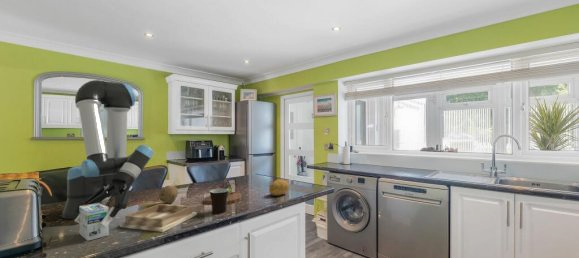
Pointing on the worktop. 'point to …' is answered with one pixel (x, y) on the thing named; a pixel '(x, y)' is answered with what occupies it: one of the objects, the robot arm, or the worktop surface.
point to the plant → (232, 196)
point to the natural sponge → (168, 194)
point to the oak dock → (158, 217)
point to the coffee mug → (219, 200)
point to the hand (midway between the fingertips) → (90, 223)
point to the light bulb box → (93, 221)
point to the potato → (278, 187)
